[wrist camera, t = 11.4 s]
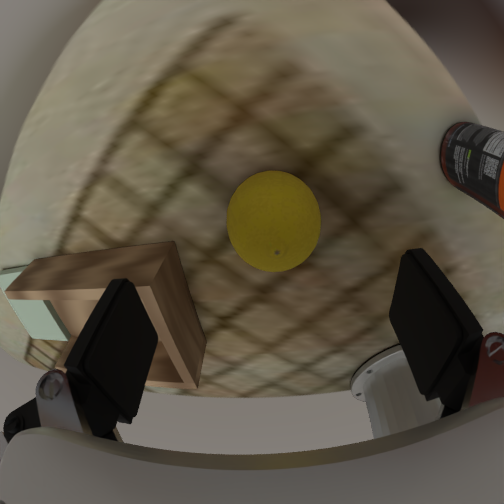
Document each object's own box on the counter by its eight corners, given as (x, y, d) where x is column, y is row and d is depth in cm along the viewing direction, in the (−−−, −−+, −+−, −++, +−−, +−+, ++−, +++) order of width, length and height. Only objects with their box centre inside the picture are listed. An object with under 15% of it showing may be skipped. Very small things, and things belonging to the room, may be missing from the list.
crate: (174, 241, 22) (150, 286, 17) (206, 342, 28) (197, 389, 23) (34, 259, 24) (3, 291, 19) (78, 337, 30) (59, 371, 25)
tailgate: (26, 270, 23) (-6, 275, 23) (68, 340, 28) (32, 338, 29) (33, 263, 24) (0, 269, 25) (72, 333, 30) (36, 331, 30)
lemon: (265, 243, 22) (266, 313, 15) (217, 190, 20) (193, 244, 13) (323, 203, 20) (354, 260, 13) (278, 143, 18) (289, 170, 11)
